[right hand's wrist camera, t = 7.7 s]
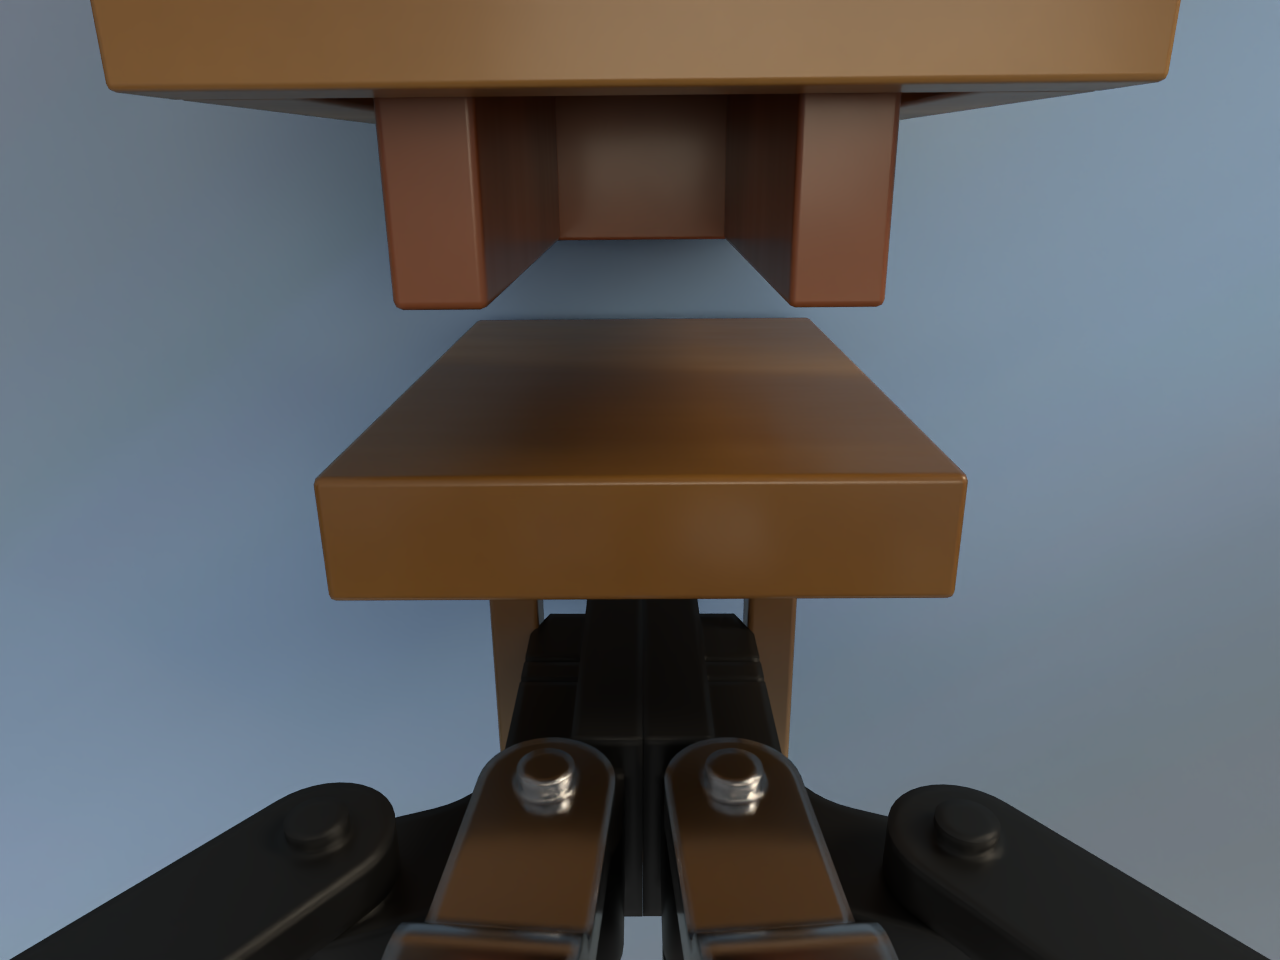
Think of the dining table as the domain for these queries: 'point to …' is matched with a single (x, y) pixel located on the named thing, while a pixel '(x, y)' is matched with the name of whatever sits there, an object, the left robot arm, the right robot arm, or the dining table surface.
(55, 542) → the dining table surface
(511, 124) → the drawer
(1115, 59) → the cabinet
